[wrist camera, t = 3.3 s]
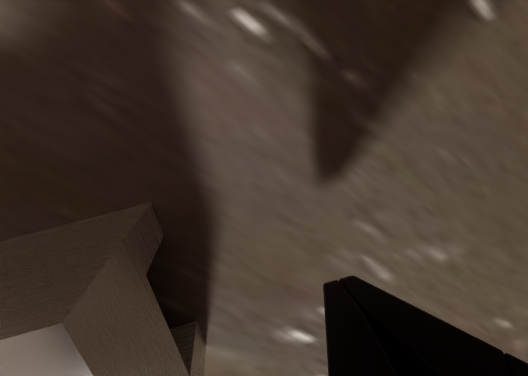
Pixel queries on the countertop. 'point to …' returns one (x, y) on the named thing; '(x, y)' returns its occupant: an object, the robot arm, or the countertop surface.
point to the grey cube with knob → (90, 303)
